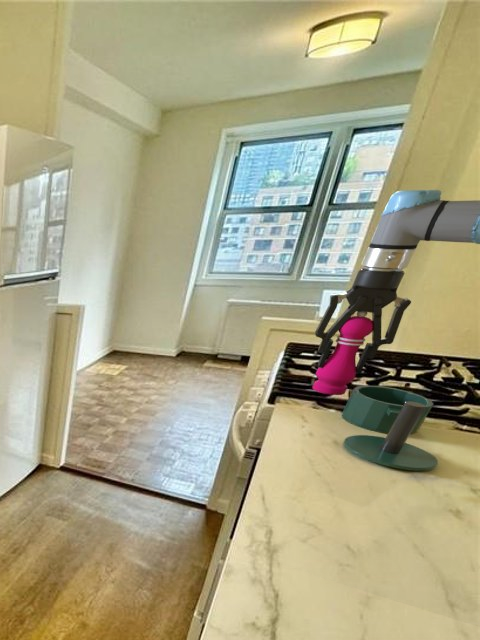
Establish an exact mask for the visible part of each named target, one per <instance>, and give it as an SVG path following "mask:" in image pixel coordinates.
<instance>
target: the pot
mask: <svg viewBox="0 0 480 640" xmlns="http://www.w3.org/2000/svg"><path fill="white" fill-rule="evenodd" d="M408 401H410V402H417V403H421V404H423V405H425V406H426V407H425V409H424V410H423V412H422V414H421V416H420V417H419V419H418V421H417V423H416V424H415V426H414V428H413V430H412V431H411V433H410V435H414V434H416V433H418V431H419V430H420V428H421V427H422V425H423V423H424V422H425V420H426V418H427V417H428V415H429V413H430V411H431V410H432V408H433V406H434V402H433V401H432V400H431V399H430V398H427V397H425V396H423V395H421V394H417V393H414V392H412V391H409V390H403V389H400V388H394V387H389V386H384V385H358V386H356V387H354V388H353V389H352V391H351V394H350V396H349V397H348V400H347V402H346V404H345V406H344V408H343V410H342V414H341V417H342V419H343V420H345V421H346V422H348V423H349V424H351V425H353V426H356V427H359V428H362V429H364V430H368V431H371V432H375V433H376V432H377V433H380V434H386V435H387V434H388V433H389V431H390V429H391V427H392V425H393V423H394V422H395V420H396V418H397V416H398V414H399V412H400V411H401V409H402V407H403V405H404V403H405V402H408ZM410 435H409V436H410Z"/></svg>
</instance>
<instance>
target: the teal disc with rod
mask: <svg viewBox="0 0 480 640" xmlns="http://www.w3.org/2000/svg"><path fill="white" fill-rule="evenodd" d="M425 407H426V406H425V405H423V404H421V403H417V402H410V401H408V402H405V403H404V405H403V407H402V409H401V411H400V412H399V414H398V416H397V418H396V420H395V422H394V423H393V425H392V427H391V429H390V431H389V433H388V434H386V436H385V437H383V436H377V435H368V434H367V435H365V434H355V435H350V436H348V437H346V438H345V439H344V440H343V442H342V444H343V446H344V448H345V449H346V450H348V451H349V452H351V454H354V455H356V456H358V457H360V458H362V459H364V460H367V461H369V462H373V463H375V464H379V465H382V466H385V467H390V468H395V469H399V470H400V469H401V470H407V471H418V472H419V471H420V472H422V471H431V470H434V469H435V468H437V466H438V465H439V460H438V459H437V457H436V456H434V455H433V454H432V453H430V452H429V451H426V450H425V449H423V448H420V447H419V446H415V445H413V444H410V443H407V440H408V439H409V437H410V433H411V431H412V430H413V428H414V426H415V424H416V423H417V421H418V419H419V417H420V416H421V414H422V412H423V410H424V409H425Z"/></svg>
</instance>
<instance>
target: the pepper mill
mask: <svg viewBox="0 0 480 640" xmlns="http://www.w3.org/2000/svg"><path fill="white" fill-rule="evenodd" d="M367 315H368V312H366V311H362V312H357V311H356V315H352V316H351V317H350V318H349V319H348V320H347V321H346V322H345V324H344V325H343V326H342V327H341V328H340V329H339V330H338V331H337V332H339V335H337V336H336V340H335V342H336V345H335V348H334V350H333V352H332V353H331V355H329V357H327V358H326V361H325V363H324V365H323V368H319V367H317V370H316V372H315V376H316V378H317V380H315V381H314V383H313V385H312V390H314V391H315V392H318V393H321V394H323V395H324V394H325V395H329V396H330V395H331V396H342V395H344V394H346V391H347V389H348V386H347V385H348V384H349V383H351V382H353V381H354V380H355V378H356V375H357V372H356V366H357V364H356V357H357V353H358V350H359V349H360V347H361V346H364V343H365V341H366V337H367V336H369V335H370V334H372V331H373V321H372V318H370V317H367Z"/></svg>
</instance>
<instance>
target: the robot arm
mask: <svg viewBox="0 0 480 640" xmlns="http://www.w3.org/2000/svg"><path fill="white" fill-rule="evenodd" d="M441 196H442V191H441V189H407V190H404V189H403V190H397V191H396V192H394V193H393V194H391V196H390V198H389V200H388V202H387V203H386V206H385V207H384V210H383V212H382V213H381V214H380V218H379V220H378V223H377V226H376V228H375V230H374V233H373V235H372V238H371V241H370V243H369V245H368V248H367V250H366V252H365V254H364V257H363V259H362V261H361V264H360V266H362V267H363V268H360V269H358V271H357V273H356V275H355V278H354V280H353V283H352V285H351V287H350V289H349V290H347V291H346V292H343V293H331V294H330V296H329V304H328V306H327V308H326V310H325V312H324V314H323V316H322V317H321V320H320V322H319V323H318V324H317V325H318V326H317V327H316V329H315V331H314V335H315V337H317V338H320V339H321V342H320V343H319V346H318V349H317V352H318V354H321V355H320V358H319V360H318V363H317V368H323V365H324V363H325V361H326V360H327V359H328V356H329V354H330V351H331V349H332V346H333V344H334V340H333V337H334V336H335V335H336V334H337V333H338V332H339V331H338V330H339V329H340V328H341V327H342V326H343V325H344V324H345V322H346V321H347V320H348V319H349V318H350V317H352V316H354V315H355V314H356V313H357V312H362V311H366V312H367V313H369V314H371V320H372V321H373V331H372V332H371V342H366V344H365V346H364V348H363V350H362V353H361V355H360V357H359V359H358V361H357V364H356V373H359V374H361V373H362V371H363V369H364V366H365V364H366V363H367V360H368V359H369V360H372V359H374V358H375V356H376V354H377V352H378V350H379V348H380V347H381V346H382V345H391V344H392V343H394V342H395V341H394V340H395V338H396V335H397V333H398V330H399V327H400V324H401V321H402V318H403V315H404V313H405V311H406V310H407V308H409V306H410V305H411V304H412V300H410V299H409V298H408V297H400V296H398V293H397V291H398V289H399V286H400V284H401V282H402V280H403V277H404V275H405V274H406V273H405V271H404V269H407V268H408V267H409V266H410V265H409V264H410V263H411V260H412V259H413V256H414V254H415V252H416V249H417V247H418V245H419V243H420V242H421V241H425V242H431V241H432V242H445V243H466V244H467V243H468V244H469V243H470V244H476V245H480V199H479V200H477V199H476V200H475V199H473V200H446V199H442V198H441ZM345 299H346V300H347V302H348V304H349V305H348V306H347V307H346V308H345V310H344V312H343V313H342V314H341V315H340V316H339V317H338V318H337V319H336V321H334V323H333V324H332V325H331V326H330V328H328V329H327V327H328V325H329V323H330V321H331V319H332V317H333V316H334V314H335V311H336V309H337V308H338V304H342V302H343V300H345ZM393 302H394V303H393ZM391 303H393V307H394V309H393V311H392V315H391V317H390V320H389V324H388V326H387V329H386V332H385V335H384V337H382V317H383V309H384V308H386V306H388V305H391ZM326 329H327V331H326V332H325V330H326Z"/></svg>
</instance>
